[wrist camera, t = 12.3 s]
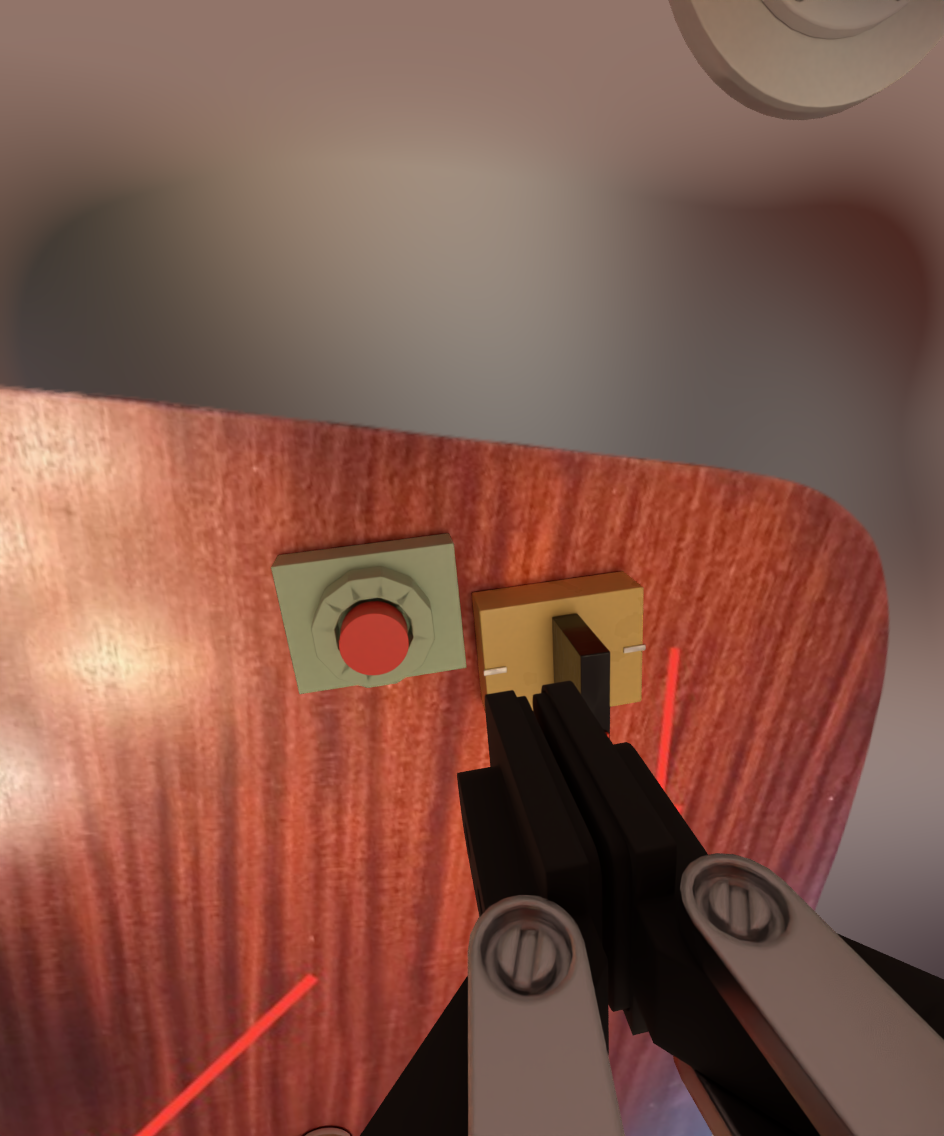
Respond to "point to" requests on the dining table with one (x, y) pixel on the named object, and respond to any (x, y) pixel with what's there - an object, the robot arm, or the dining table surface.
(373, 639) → the release button
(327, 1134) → the pill bottle
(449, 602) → the button block
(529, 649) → the plate
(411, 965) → the dining table surface
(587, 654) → the block
